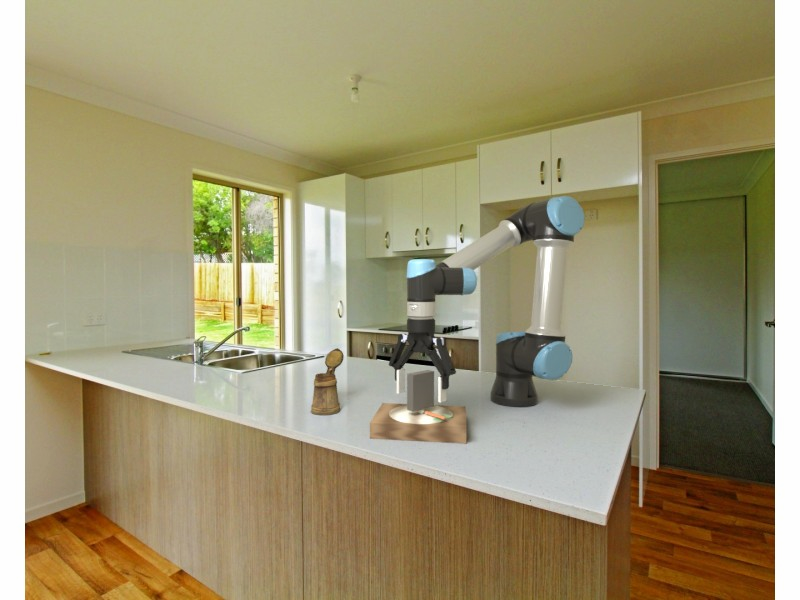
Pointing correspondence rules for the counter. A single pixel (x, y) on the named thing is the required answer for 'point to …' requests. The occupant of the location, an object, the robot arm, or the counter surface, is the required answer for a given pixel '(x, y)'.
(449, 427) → the board
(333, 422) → the counter surface
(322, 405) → the wooden mug
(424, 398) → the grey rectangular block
